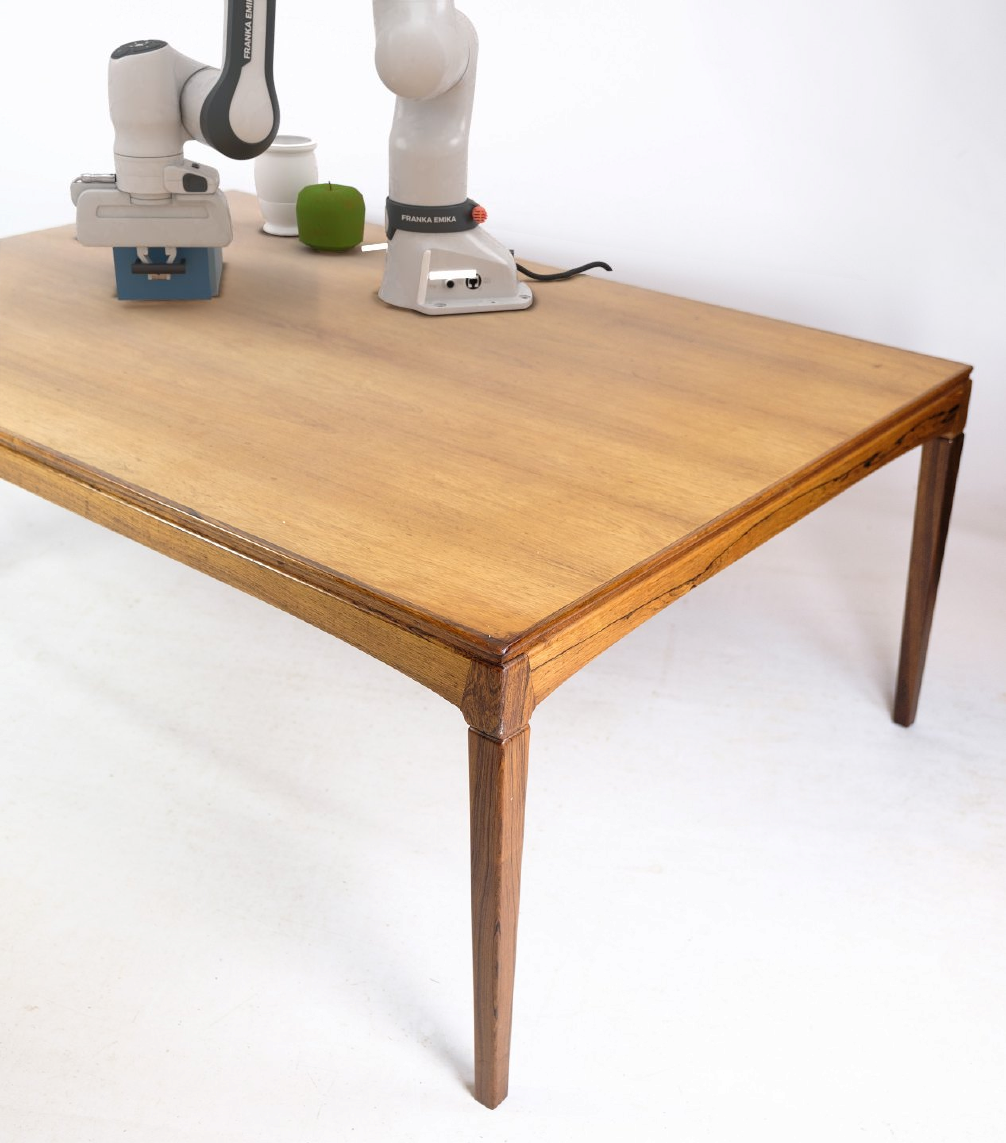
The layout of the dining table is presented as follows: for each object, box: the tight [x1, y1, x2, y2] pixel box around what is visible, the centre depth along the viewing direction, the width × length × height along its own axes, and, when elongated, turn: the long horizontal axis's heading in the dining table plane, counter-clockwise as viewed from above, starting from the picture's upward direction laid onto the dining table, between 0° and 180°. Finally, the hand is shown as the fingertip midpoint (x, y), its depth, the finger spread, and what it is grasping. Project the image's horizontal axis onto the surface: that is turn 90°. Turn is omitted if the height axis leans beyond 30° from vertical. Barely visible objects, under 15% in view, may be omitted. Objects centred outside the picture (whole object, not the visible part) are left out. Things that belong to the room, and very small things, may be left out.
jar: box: [253, 134, 319, 237], centre depth 217 cm, size 11×10×15 cm
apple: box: [296, 180, 367, 253], centre depth 209 cm, size 11×11×11 cm
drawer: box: [111, 247, 212, 301], centre depth 183 cm, size 22×13×9 cm, turn 8°
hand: (159, 278), depth 176 cm, fingers closed
